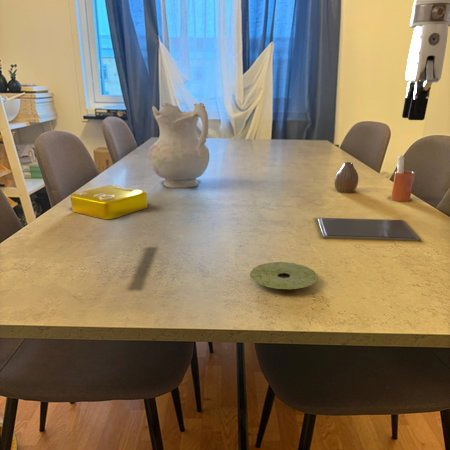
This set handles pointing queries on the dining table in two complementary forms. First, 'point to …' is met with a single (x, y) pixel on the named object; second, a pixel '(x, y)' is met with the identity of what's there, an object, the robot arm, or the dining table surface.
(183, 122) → the ceramic pitcher
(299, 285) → the green stone disc
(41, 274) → the dining table surface
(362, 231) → the tablet
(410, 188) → the pen cup
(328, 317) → the dining table surface
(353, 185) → the vase
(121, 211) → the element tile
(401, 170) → the stylus
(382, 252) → the dining table surface
